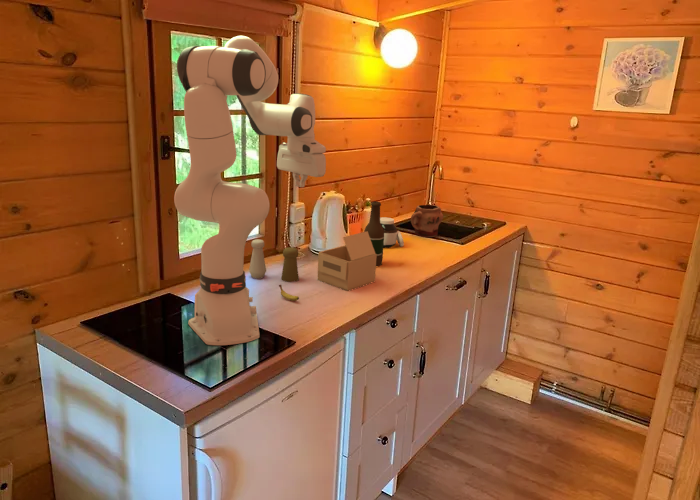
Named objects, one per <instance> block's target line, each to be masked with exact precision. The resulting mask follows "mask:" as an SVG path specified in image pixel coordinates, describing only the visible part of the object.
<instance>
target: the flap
mask: <svg viewBox="0 0 700 500" xmlns="http://www.w3.org/2000/svg"><path fill="white" fill-rule="evenodd" d="M342 239H343V241H344V244H345V245H346V247H347V250H348V253H349V256H350V259H351V261H352V260H355V259H358V258H362V257H365V256H369V255H372V254H375V251H374V248H373V245H372V242H371V240H370V237H369V234H368V231H367V232H364V231H363V232H359V233H355V234H349V235H345V236H343V237H342ZM345 245H344V246H345Z"/></svg>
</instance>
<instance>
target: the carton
mask: <svg viewBox="0 0 700 500" xmlns="http://www.w3.org/2000/svg"><path fill="white" fill-rule="evenodd" d="M376 258H377V254H372V255H369V256H365V257H362V258H358V259H355V260H352V261H351V259H350V256H349V253H348V250H347V247H346V245H341V246H337V247H333V248H329V249H325V250H321V251H319V252H318V256H317V259H318V260H317V281H319V282H321V283H324V284H327V285H329V286H332V287H336V288H338V289H340V288H341V289H340V290H344V291H346V292H349V290H350V291H352V289H353V290H356V289H358V287H359V288H361V287H363V285H364V286H367V285H370V284H372V283H371V282H373V283H375V282H376V270H377V268H376ZM374 281H375V282H374ZM369 283H370V284H369ZM366 284H367V285H366ZM360 286H361V287H360ZM355 288H356V289H355Z"/></svg>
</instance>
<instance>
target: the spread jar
mask: <svg viewBox="0 0 700 500" xmlns="http://www.w3.org/2000/svg"><path fill="white" fill-rule="evenodd" d="M380 224H381V226H382V227H383V230H384V246H383V249H391V248H393V247H394V246H395V245H396V244H398V246H399V247H404V245H405V242H404V238H403V235H402V233H401V231H400V230H398V228H397V227H396V224H395V219H394V218H391V217H383V216H382V217H381V216H380Z"/></svg>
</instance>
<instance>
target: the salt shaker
mask: <svg viewBox="0 0 700 500" xmlns="http://www.w3.org/2000/svg"><path fill="white" fill-rule="evenodd" d="M250 244H251V245H250V246H251V248H252V254H251V258H250V262H249V268H248V269H249V270H248V271H249V274H250V277H252V279H257V280H258V279H263V278H264V276H265V274H266V273H267V267H266V261H265V255H264V250H263V248H264V247H265V241H264V240H263V239H258V238H257V239H253V240H252V241H251V243H250Z"/></svg>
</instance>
